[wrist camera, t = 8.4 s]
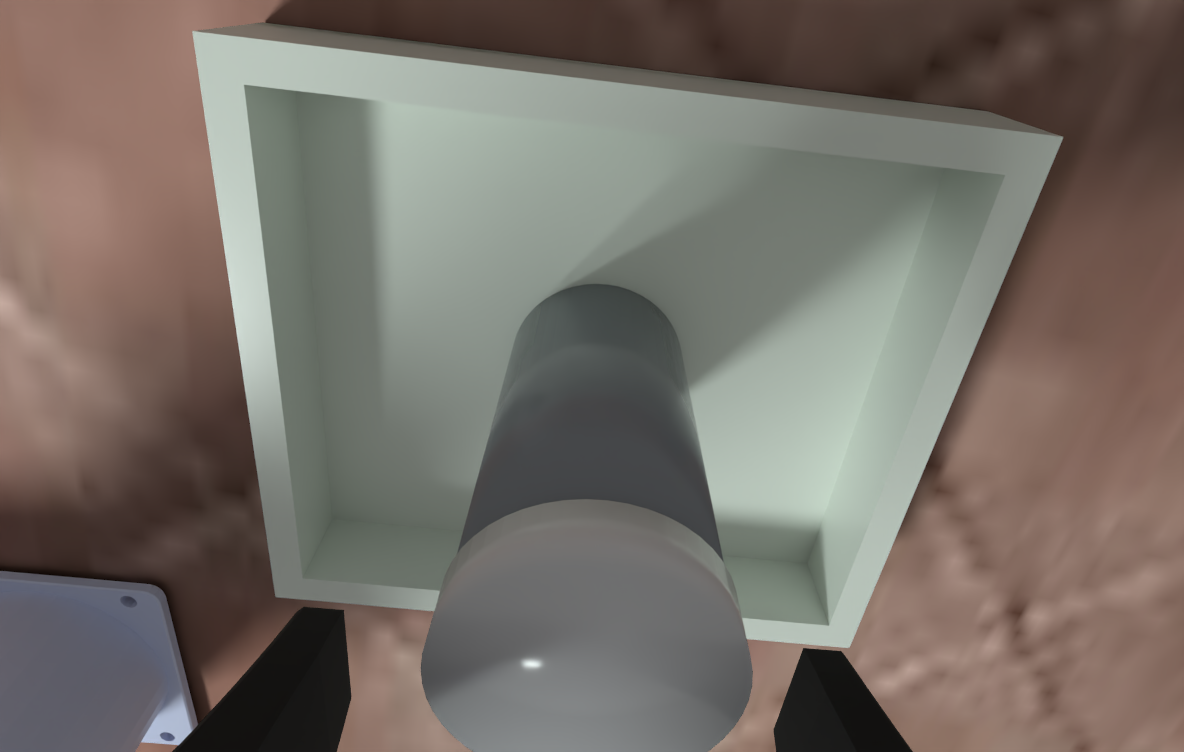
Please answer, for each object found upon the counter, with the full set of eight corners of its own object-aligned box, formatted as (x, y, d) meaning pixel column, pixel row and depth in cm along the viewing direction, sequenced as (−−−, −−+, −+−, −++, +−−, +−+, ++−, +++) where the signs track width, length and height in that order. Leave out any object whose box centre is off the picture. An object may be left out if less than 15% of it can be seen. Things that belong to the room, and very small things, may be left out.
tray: (314, 523, 22) (275, 597, 19) (263, 22, 15) (192, 31, 13) (820, 570, 23) (849, 647, 20) (987, 111, 16) (1064, 136, 13)
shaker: (503, 427, 19) (420, 769, 11) (514, 269, 17) (421, 542, 9) (669, 446, 20) (716, 796, 11) (701, 291, 17) (790, 579, 9)
